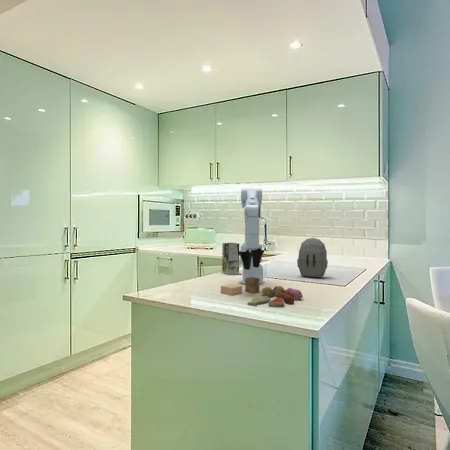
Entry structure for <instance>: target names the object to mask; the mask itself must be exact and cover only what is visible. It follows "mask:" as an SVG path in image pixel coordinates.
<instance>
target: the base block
mask: <svg viewBox="0 0 450 450" xmlns="http://www.w3.org/2000/svg"><path fill="white" fill-rule="evenodd" d="M220 293H221V294H224V295H229V296H235V295H240V294H243V286H242V285H238V284H234V283H233V284H232V283H230V284H225V285H221V286H220Z"/></svg>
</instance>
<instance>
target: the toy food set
mask: <svg viewBox="0 0 450 450" xmlns="http://www.w3.org/2000/svg"><path fill="white" fill-rule="evenodd" d="M261 294H262V296H261V295H260V296H257V297H254V298H252V299H251V301H248V302H247V304H246V305H247V306H252V307H258V306H262V305H265V304H268V307H269V308H270V307H271V308H284V307H285V304H287V305H294V304H295V301H299V300H301V299H303V297H304V295H303V294H302V291H301V290H299V289H296V288H293V287H288V288H287V289H284V287H283V286H281V285H279V286H278V285H276V286H274V287H273V288H272V287H270V286H264V288H262V290H261ZM272 297H275V298H273V299H271V298H272Z"/></svg>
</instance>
